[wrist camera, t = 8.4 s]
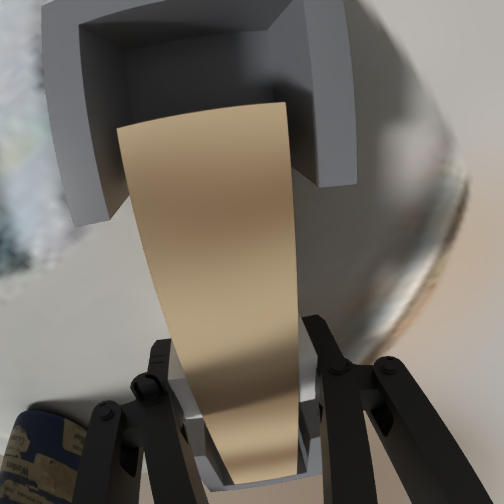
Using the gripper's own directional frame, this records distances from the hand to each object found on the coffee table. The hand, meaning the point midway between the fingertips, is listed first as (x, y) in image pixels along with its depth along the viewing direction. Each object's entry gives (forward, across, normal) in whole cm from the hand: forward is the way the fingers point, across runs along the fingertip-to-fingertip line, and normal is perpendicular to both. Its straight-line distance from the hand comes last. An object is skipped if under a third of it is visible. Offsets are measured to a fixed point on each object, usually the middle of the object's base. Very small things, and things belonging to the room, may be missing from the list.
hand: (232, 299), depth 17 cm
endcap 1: (0, 0, +11) cm, 11 cm away
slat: (-1, 0, 0) cm, 1 cm away
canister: (+1, -19, -14) cm, 23 cm away
